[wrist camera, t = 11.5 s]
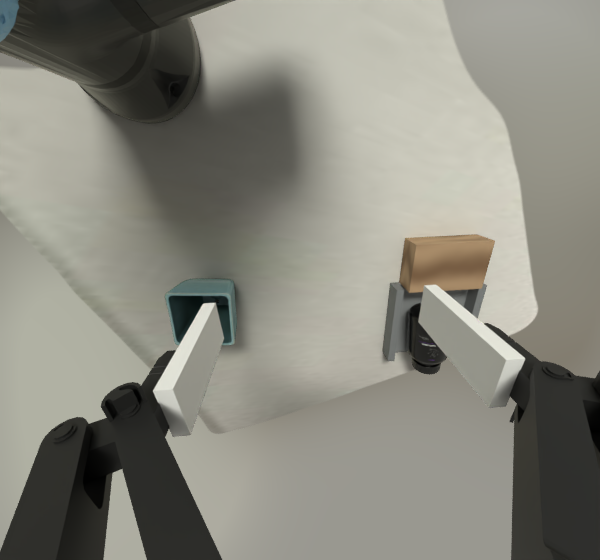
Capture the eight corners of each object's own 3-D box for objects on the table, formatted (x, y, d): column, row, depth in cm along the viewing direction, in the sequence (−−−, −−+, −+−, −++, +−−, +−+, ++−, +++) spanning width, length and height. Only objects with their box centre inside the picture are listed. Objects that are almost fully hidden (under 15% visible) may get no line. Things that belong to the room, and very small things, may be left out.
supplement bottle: (441, 328, 39) (436, 385, 44) (460, 309, 42) (454, 364, 47) (399, 313, 44) (399, 366, 49) (420, 297, 47) (418, 348, 52)
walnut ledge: (405, 238, 42) (416, 245, 38) (476, 234, 42) (495, 241, 38) (399, 282, 45) (409, 292, 41) (466, 278, 45) (481, 288, 42)
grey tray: (390, 283, 45) (397, 290, 42) (474, 278, 45) (486, 285, 43) (382, 350, 51) (387, 361, 48) (457, 346, 52) (466, 356, 49)
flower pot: (244, 314, 46) (234, 346, 38) (194, 314, 46) (174, 346, 38) (241, 269, 43) (230, 293, 35) (187, 268, 42) (163, 293, 34)
